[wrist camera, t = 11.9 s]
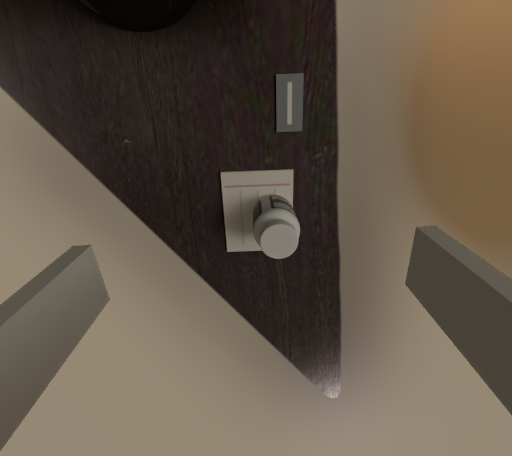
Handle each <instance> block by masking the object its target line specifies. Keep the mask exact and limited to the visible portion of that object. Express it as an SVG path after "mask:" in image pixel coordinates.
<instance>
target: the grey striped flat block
mask: <svg viewBox="0 0 512 456" xmlns="http://www.w3.org/2000/svg"><path fill="white" fill-rule="evenodd" d="M303 76H304V73H298V74H276V132H291V131H302V118H303Z"/></svg>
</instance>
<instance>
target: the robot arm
mask: <svg viewBox="0 0 512 456" xmlns="http://www.w3.org/2000/svg"><path fill="white" fill-rule="evenodd" d="M78 1H79V2H80V3H81V4H83V5H84V6H85V7H86V8H87V9H89V10H90V11H92V12H93V13H95V14H96V15H98V16H99V17H101V18H103V19H104V20H106V21H108V22H110V23H111V24H113V25H116V26H118V27H121V28H124V29H127V30H132V31H140V32H146V31H154V30H159V29H162V28H165V27H167V26H169V25H171V24H173V23H175V22H176V21H178V20H179V19H180V18H182V17H183V16H184V15H185V14H186V13H187V12H188V11H189V10H190V8H191V7H192V6H193V5H194V3H195V2H196V0H78ZM405 284H406V286H407V287H408V288H409V289H410V291H411V292H412V293H413V294H414V295H415V297H416V298H417V299H418V300H419V302H420V303H421V304H422V305H423V307H424V308H425V309H426V310H427V311H428V313H429V314H430V315H431V316H432V317H433V319H434V320H435V321H436V323H437V324H438V325H439V326H440V327H441V329H442V330H443V331H444V332H445V334H446V335H447V336H448V337H449V338H450V340H451V341H452V342H453V343H454V345H455V346H456V347H457V348H458V350H459V351H460V352H461V353H462V354H463V356H464V357H465V358H466V359H467V361H468V362H469V363H470V364H471V366H472V367H473V368H474V369H475V370H476V372H477V373H478V374H479V375H480V376H481V378H482V379H483V380H484V382H485V383H486V384H487V385H488V386H489V388H490V389H491V390H492V391H493V393H494V394H495V395H496V396H497V397H498V399H499V400H500V401H501V402H502V404H503V405H504V406H505V407H506V409H507V410H508V411H509V412H510V414H511V415H512V279H511V278H509V277H508V276H506V275H505V274H503V273H502V272H501V271H499V270H498V269H496V268H495V267H493V266H492V265H491V264H489V263H488V262H486V261H485V260H484V259H482V258H481V257H479V256H478V255H477V254H475V253H474V252H472V251H471V250H469V249H468V248H467V247H465V246H464V245H462V244H461V243H459V242H458V241H457V240H455V239H454V238H452V237H451V236H449V235H448V234H447V233H445V232H444V231H442V230H441V229H439V228H438V227H437V226H424V227H416V231H415V237H414V242H413V247H412V252H411V257H410V262H409V267H408V273H407V278H406V283H405ZM109 300H110V298H109V295H108V293H107V290H106V287H105V284H104V281H103V278H102V275H101V273H100V270H99V266H98V263H97V260H96V258H95V255H94V252H93V249H92V246H91V245H84V246H72V247H71V248H70V249H69V250H67V251H66V252H65V253H64V254H63V255H61V256H60V257H59V258H58V259H56V260H55V261H54V262H53V263H51V264H50V265H49V266H48V267H46V268H45V269H44V270H43V271H42V272H40V273H39V274H38V275H37V276H35V277H34V278H33V279H32V280H31V281H29V282H28V283H27V284H25V285H24V286H23V287H22V288H21V289H19V290H18V291H17V292H16V293H14V294H13V295H12V296H11V297H9V298H8V299H7V300H6V301H5V302H3V303H2V304H1V305H0V451H1V450H2V448H3V447H4V445H5V444H6V443H7V441H8V440H9V439H10V437H11V436H12V434H13V433H14V432H15V430H16V429H17V427H18V426H19V425H20V423H21V422H22V420H23V419H24V418H25V416H26V415H27V414H28V412H29V411H30V409H31V408H32V407H33V405H34V404H35V402H36V401H37V399H38V398H39V397H40V396H41V394H42V393H43V391H44V390H45V389H46V387H47V386H48V384H49V383H50V381H51V380H52V379H53V377H54V376H55V375H56V373H57V372H58V370H59V369H60V368H61V366H62V365H63V364H64V362H65V361H66V359H67V358H68V357H69V355H70V354H71V352H72V351H73V350H74V348H75V347H76V346H77V344H78V343H79V341H80V340H81V339H82V337H83V336H84V334H85V333H86V332H87V330H88V329H89V327H90V326H91V325H92V323H93V322H94V321H95V319H96V318H97V316H98V315H99V314H100V312H101V311H102V310H103V308H104V307H105V305H106V304H107V303H108V301H109Z"/></svg>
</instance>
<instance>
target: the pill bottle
mask: <svg viewBox="0 0 512 456" xmlns="http://www.w3.org/2000/svg"><path fill="white" fill-rule="evenodd" d="M253 234H254V238H255V240H256V242H257V244H258V245H259V246H260V247H261V249H262V251H263V252H264V253H265V254H266V255H268V256H269V257H271V258H276V259H281V258H285V257H288V256H290V255H291V254H292V253H293V252H294V251H295V250H296V248H297V246H298V238H299V234H300V226H299V222H298V219H297V217H296V215H295V213H294V210H293V208H292V205H291V204H290V202H289V201H288V200H287V199H286V198H284V197H283V196H280V195H267V196H265V197H263V198H261V199H260V200H259V201H258V202H257V203H256V205H255V207H254V209H253Z"/></svg>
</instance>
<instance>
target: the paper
mask: <svg viewBox="0 0 512 456" xmlns="http://www.w3.org/2000/svg"><path fill="white" fill-rule="evenodd" d="M221 185H222V196H223V208H224V219H225V231H226V243H227V252H235V251H262V249H261V247H260V246H259V245H258V244H257V242H256V240H255V238H254V234H253V209H254V207H255V205H256V203H257V202H258V201H259V200H260V199H261V198H263V197H265V196H267V195H280V196H283V197H284V198H286V199H287V200H288V201H289V202H290V204H291V205H292V208H293V169H286V170H261V171H235V172H221Z"/></svg>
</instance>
